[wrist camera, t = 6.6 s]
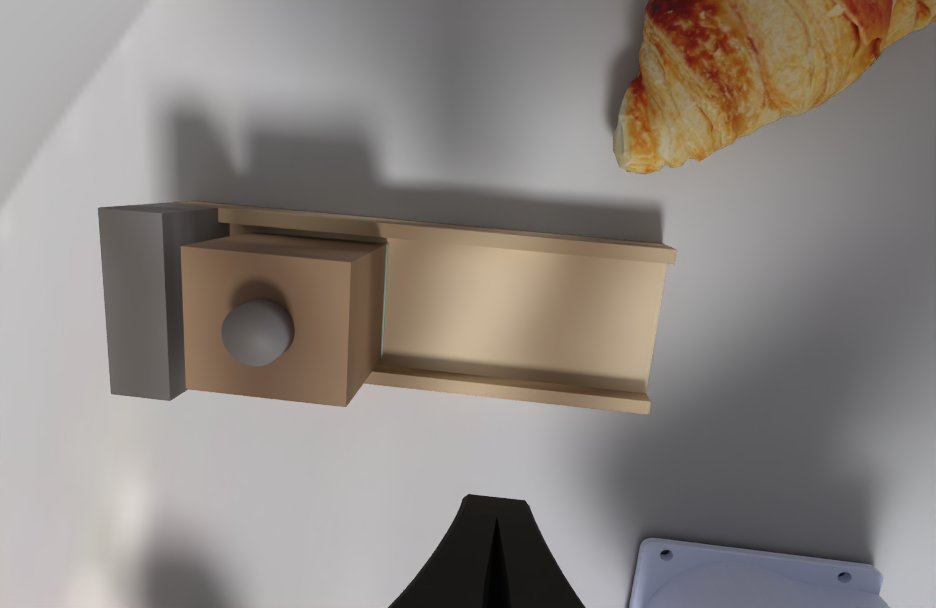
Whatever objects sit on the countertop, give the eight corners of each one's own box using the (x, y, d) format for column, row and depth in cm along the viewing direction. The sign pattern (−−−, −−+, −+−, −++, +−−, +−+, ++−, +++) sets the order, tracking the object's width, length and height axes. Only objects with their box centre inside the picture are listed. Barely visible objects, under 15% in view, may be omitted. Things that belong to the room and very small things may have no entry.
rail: (663, 243, 20) (709, 264, 15) (637, 395, 22) (673, 458, 17) (192, 201, 21) (98, 207, 17) (197, 348, 23) (110, 394, 18)
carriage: (385, 244, 20) (341, 266, 15) (380, 360, 21) (337, 418, 16) (251, 231, 20) (163, 249, 15) (252, 346, 21) (170, 399, 16)
